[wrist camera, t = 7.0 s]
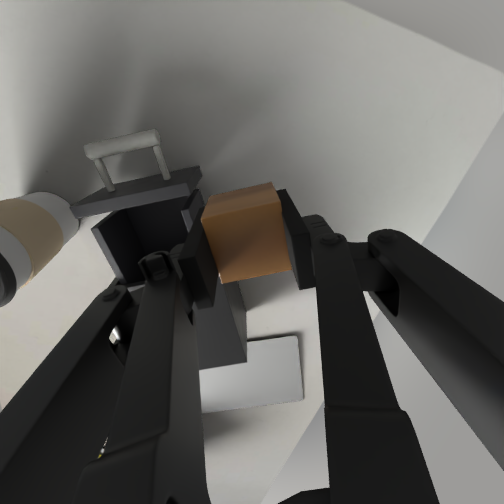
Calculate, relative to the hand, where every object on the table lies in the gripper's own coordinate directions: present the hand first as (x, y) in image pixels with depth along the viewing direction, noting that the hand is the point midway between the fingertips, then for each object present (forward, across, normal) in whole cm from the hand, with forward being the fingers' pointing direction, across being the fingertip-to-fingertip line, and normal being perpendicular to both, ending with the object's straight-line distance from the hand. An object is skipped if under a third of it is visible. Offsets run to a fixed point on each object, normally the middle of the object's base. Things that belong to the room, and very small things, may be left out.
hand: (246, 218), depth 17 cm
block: (0, 0, 0) cm, 0 cm away
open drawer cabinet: (+16, -11, -3) cm, 19 cm away
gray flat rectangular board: (+17, -10, -36) cm, 41 cm away
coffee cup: (+17, -26, -1) cm, 31 cm away
